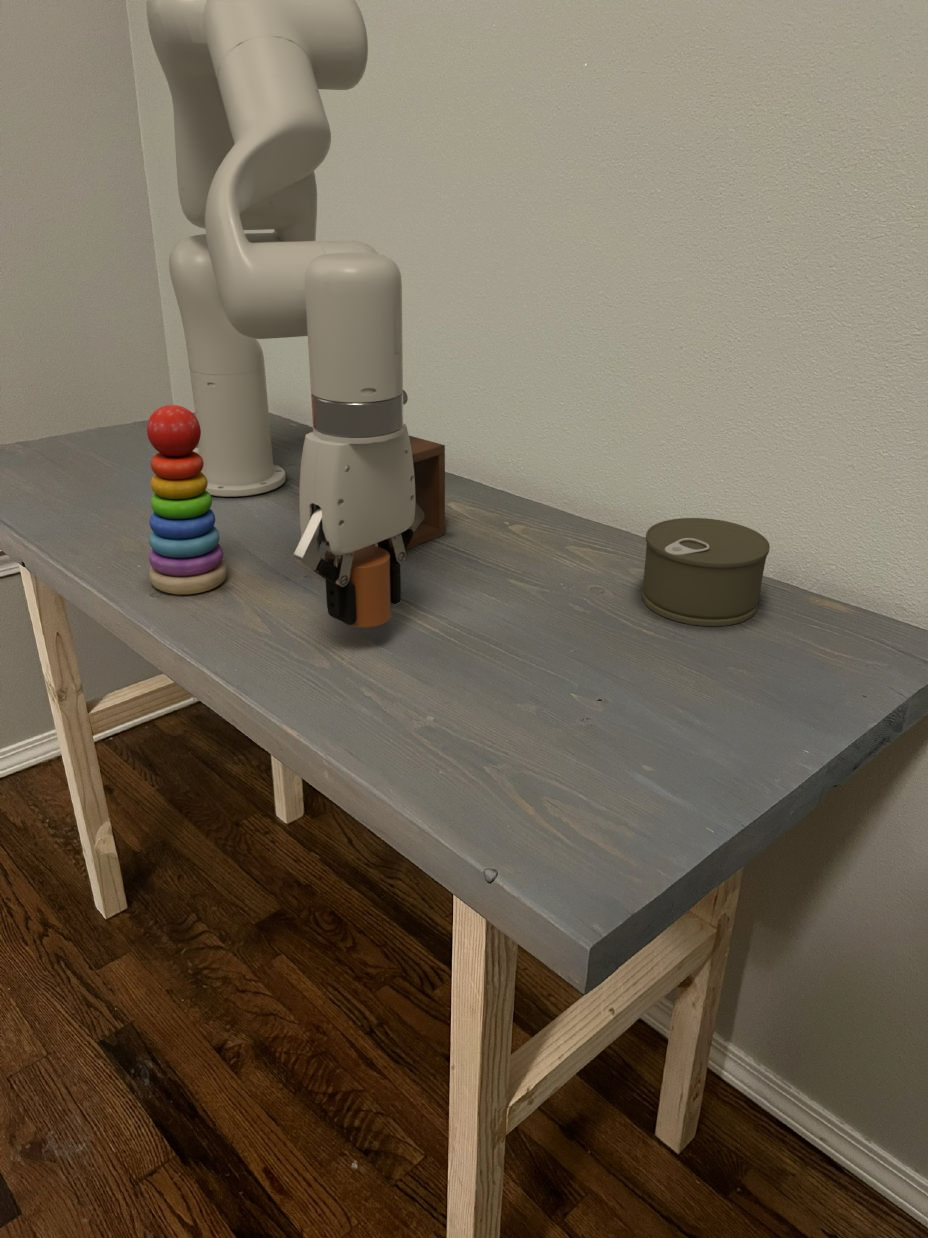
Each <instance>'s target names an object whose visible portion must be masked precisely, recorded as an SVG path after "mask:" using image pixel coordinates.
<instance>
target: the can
mask: <svg viewBox="0 0 928 1238" xmlns="http://www.w3.org/2000/svg"><path fill="white" fill-rule="evenodd" d="M645 543H646V549H645V558H644V559H645V560H644V569H643V570H644V571H643V580H642V581H643V582H642V589H641V600H642V602H643V604H644V605H645V606H646V607H647V608H648V609H649V610H650V611H652V612H654V614H657V615H659V616H660V617H662V618H665V619H668V620H671V621H674V622H678V623H681V624H685V625H691V626H698V627H699V626H700V627H727V626H733V625H738V624H741V623H743V622H746V621H748V620H750V619H752V617H754V615H756V612H757V611H758V604H759V599H760V593H761V587H762V582H763V577H764V571H765V567H766V566H765V565H766V561H767V557H768V555H769V552H770V543H769V541H768V539H767V538H766V537H765V536H764V535H762V534H761V533H759V532H758V531H756V530H754V529H752V528H750V527H749V526H748V527H747V526H745V525H742V524H739V523H735V522H730V521H726V520H721V519H714V518H707V517H706V518H705V517H680V518H673V519H667V520H664V521H663V520H662V521H660V522H657V523H656V524H653V525H651V526H650V527H649V528H648V529H647V531H646V533H645Z"/></svg>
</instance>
